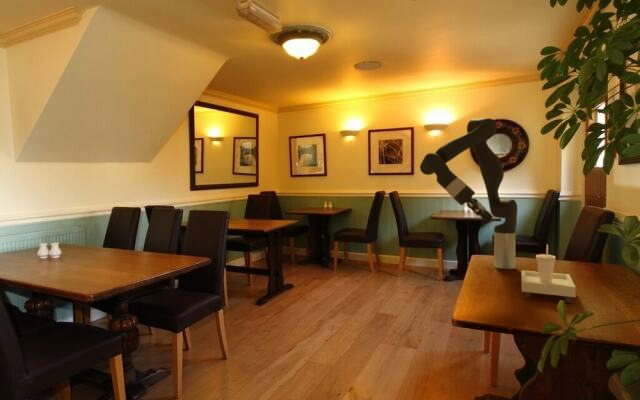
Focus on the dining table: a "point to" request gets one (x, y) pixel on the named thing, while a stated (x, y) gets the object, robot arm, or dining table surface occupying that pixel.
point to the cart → (548, 285)
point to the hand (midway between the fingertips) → (490, 219)
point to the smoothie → (545, 266)
